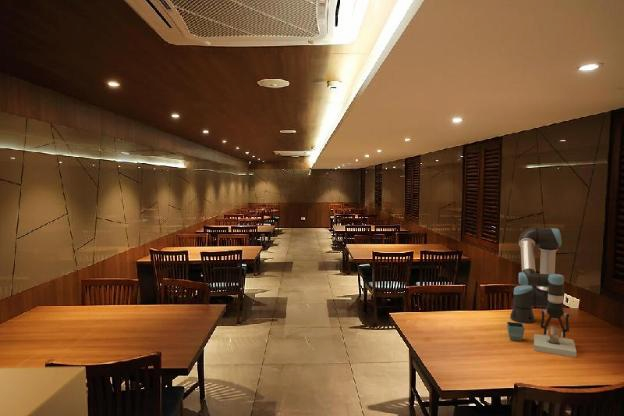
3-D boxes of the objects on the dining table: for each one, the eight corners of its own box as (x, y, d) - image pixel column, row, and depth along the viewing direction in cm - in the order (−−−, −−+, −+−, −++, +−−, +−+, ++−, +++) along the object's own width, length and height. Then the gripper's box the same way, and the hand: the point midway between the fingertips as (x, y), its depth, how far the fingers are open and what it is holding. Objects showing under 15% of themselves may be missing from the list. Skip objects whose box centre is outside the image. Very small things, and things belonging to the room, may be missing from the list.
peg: (549, 348, 234) (550, 327, 233) (549, 345, 238) (549, 325, 237) (559, 349, 232) (559, 328, 231) (558, 346, 236) (558, 326, 235)
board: (534, 350, 231) (534, 345, 231) (534, 338, 249) (534, 333, 248) (576, 357, 222) (576, 352, 221) (573, 344, 239) (573, 339, 239)
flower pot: (522, 337, 251) (522, 322, 250) (524, 342, 242) (524, 327, 242) (506, 335, 254) (506, 321, 253) (508, 340, 245) (508, 326, 245)
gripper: (535, 301, 235) (534, 340, 236) (576, 305, 226) (575, 347, 227) (535, 297, 241) (534, 336, 243) (575, 302, 232) (573, 342, 234)
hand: (554, 341), depth 235 cm, fingers open, 7 cm apart
